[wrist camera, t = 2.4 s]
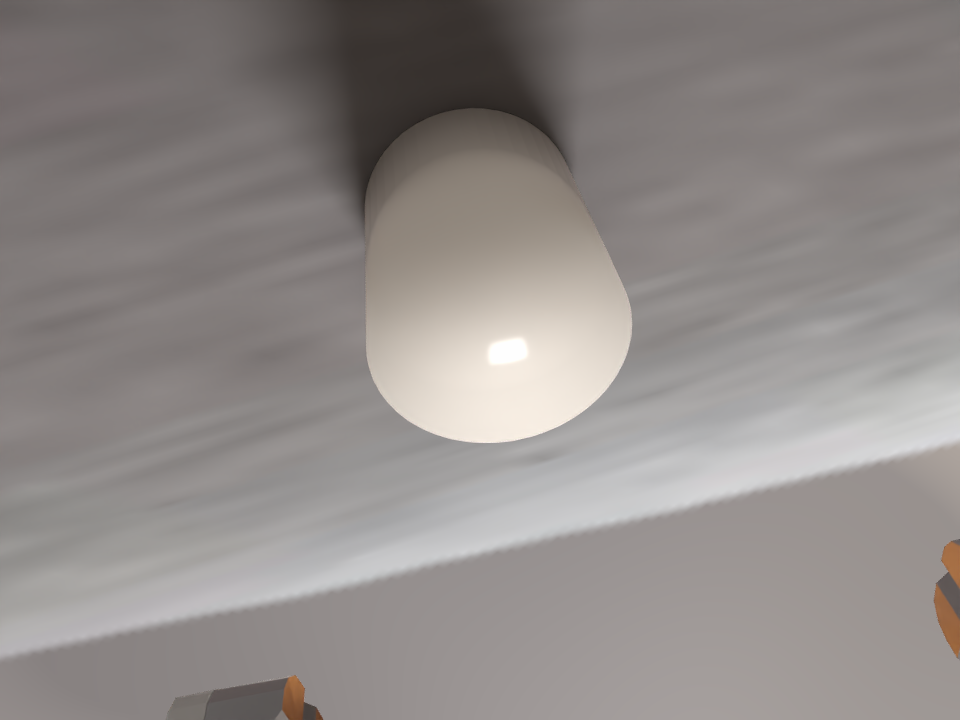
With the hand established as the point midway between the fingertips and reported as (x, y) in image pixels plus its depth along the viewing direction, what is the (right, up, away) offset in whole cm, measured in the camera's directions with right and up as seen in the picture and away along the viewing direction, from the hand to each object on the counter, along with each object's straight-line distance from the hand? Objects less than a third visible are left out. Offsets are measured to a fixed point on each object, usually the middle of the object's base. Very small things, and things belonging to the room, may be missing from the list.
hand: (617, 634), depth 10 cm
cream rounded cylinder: (-2, +7, +9) cm, 12 cm away
